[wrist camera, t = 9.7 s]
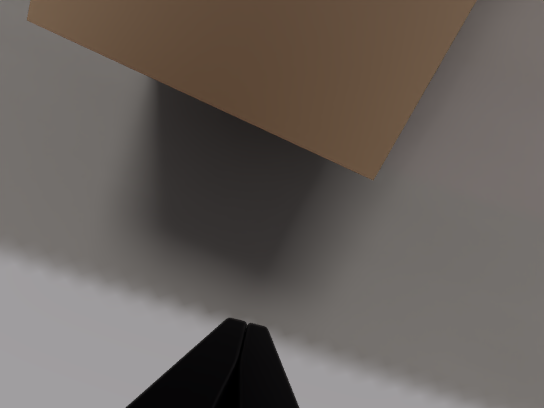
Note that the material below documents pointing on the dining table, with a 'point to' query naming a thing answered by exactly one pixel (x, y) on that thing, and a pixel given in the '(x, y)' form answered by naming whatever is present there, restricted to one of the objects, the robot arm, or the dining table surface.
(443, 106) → the dining table surface
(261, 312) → the dining table surface
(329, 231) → the dining table surface
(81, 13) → the block
